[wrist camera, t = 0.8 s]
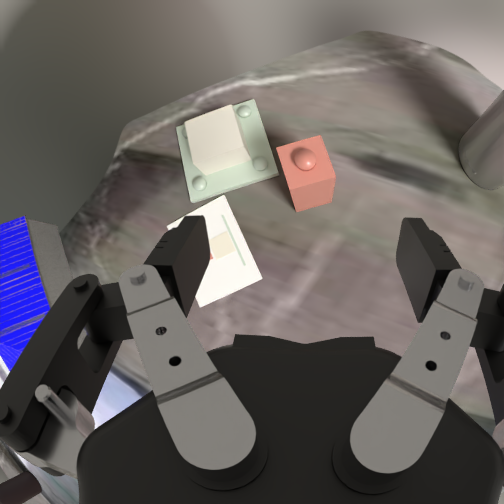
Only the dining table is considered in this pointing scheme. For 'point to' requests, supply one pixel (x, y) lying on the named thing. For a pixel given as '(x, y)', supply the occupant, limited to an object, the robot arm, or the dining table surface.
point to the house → (28, 281)
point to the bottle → (19, 489)
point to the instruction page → (223, 253)
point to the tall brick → (308, 172)
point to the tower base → (237, 172)
